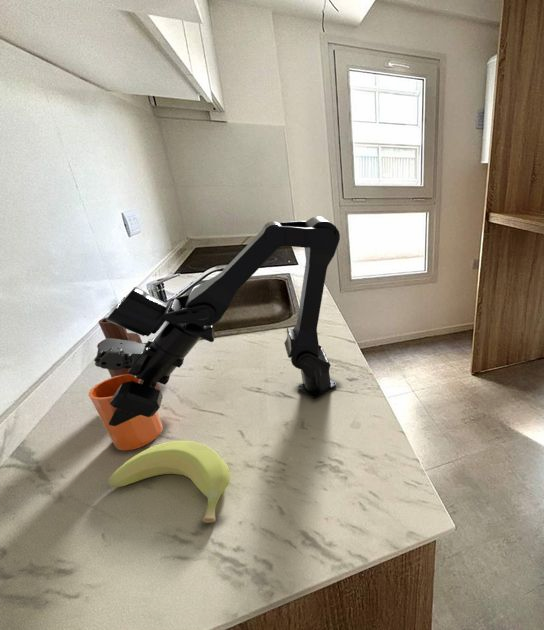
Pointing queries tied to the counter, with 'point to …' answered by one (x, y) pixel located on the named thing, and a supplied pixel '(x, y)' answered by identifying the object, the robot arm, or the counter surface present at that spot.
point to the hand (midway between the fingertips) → (117, 411)
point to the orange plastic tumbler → (129, 431)
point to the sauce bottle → (118, 333)
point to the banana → (179, 469)
